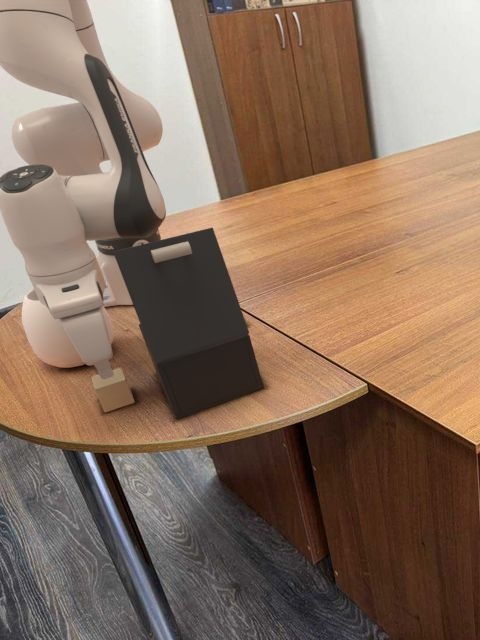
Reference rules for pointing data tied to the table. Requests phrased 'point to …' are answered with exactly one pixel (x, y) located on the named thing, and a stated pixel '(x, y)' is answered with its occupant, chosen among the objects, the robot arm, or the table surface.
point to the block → (113, 390)
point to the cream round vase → (51, 334)
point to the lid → (181, 293)
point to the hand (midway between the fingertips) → (103, 363)
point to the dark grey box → (208, 375)
